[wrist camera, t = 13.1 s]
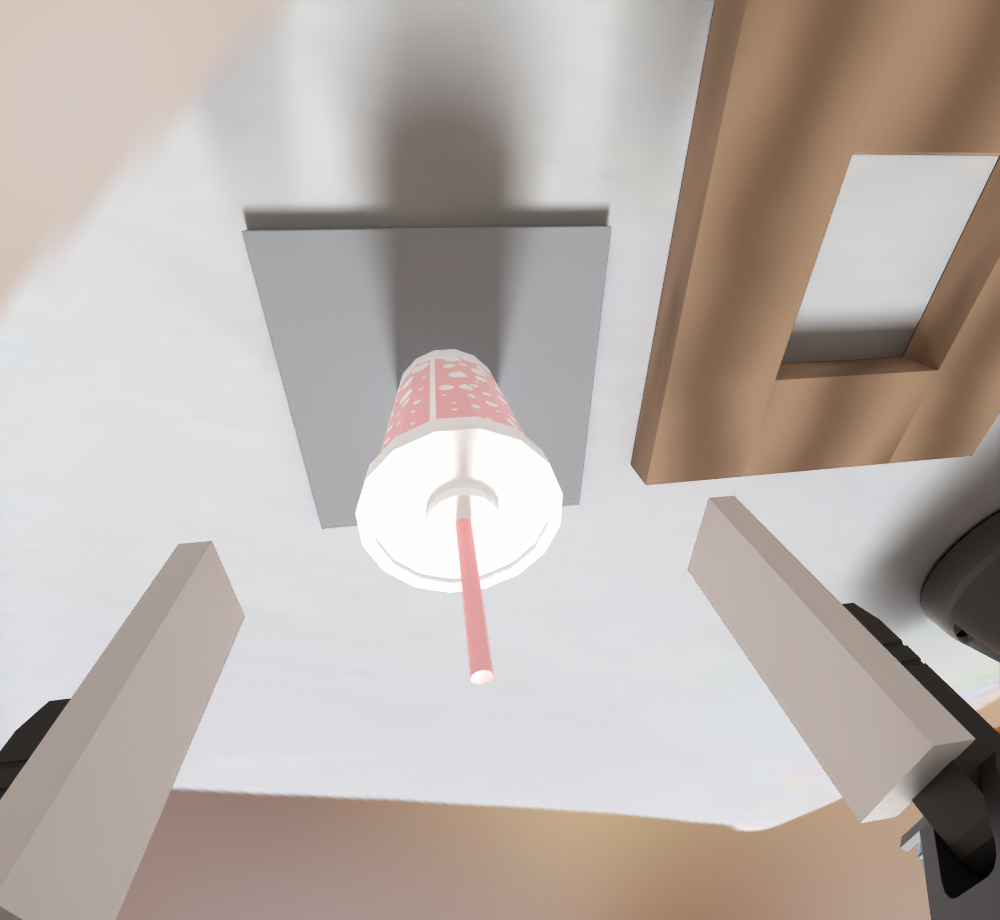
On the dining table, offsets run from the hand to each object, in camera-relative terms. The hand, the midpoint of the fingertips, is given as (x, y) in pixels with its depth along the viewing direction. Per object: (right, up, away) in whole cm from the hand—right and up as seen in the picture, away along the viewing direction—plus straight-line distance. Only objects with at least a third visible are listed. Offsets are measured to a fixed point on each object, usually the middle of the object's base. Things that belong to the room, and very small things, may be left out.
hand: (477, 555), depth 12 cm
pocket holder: (+18, +12, +9) cm, 23 cm away
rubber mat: (-2, +6, +9) cm, 11 cm away
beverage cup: (-2, +6, +9) cm, 11 cm away
